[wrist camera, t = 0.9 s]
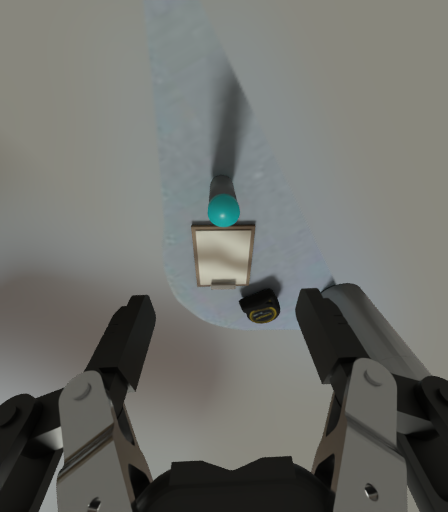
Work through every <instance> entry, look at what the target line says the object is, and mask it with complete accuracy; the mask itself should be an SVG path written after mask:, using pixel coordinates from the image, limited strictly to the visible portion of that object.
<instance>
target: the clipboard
mask: <svg viewBox="0 0 448 512" xmlns="http://www.w3.org/2000/svg"><path fill="white" fill-rule="evenodd" d="M191 229H192V239H193V249H194V258H195V268H196V278H197V287H207V286H211V290H214V289H235V288H236V286H249V279H250V270H251V261H252V252H253V243H254V234H255V225H231V226H228V227H219V226H216V225H192V226H191Z"/></svg>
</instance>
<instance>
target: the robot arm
mask: <svg viewBox="0 0 448 512" xmlns="http://www.w3.org/2000/svg"><path fill="white" fill-rule="evenodd" d="M295 312H296V318H297V321H298V323H299V326H300V328H301V331H302V334H303V336H304V339H305V341H306V344H307V346H308V349H309V351H310V354H311V356H312V359H313V362H314V364H315V367H316V369H317V372H318V375H319V377H320V380H321V382H322V384H331V385H332V387H333V390H334V391H333V394H332V398H331V402H330V407H329V411H328V416H327V420H326V424H325V428H324V432H323V436H322V439H321V441H320V444H319V446H318V448H317V451H316V455H315V458H314V462H313V466H312V471H311V472H309V471H308V470H306V469H305V468H303V467H301V466H299V465H297V464H294V463H293V461H292V457H291V456H284V457H264V458H260V459H258V460H256V461H254V462H251V463H249V464H247V465H245V466H242V467H240V468H238V469H236V470H228V469H224V468H222V467H219V466H216V465H213V464H209V463H206V462H204V461H184V462H172V465H171V469H170V470H168V471H166V472H165V473H163V474H161V475H160V476H158V477H157V478H156V479H155V480H154V481H153V479H152V476H151V473H150V470H149V467H148V464H147V462H146V460H145V457H144V455H143V453H142V452H141V450H140V448H139V445H138V443H137V440H136V437H135V434H134V431H133V428H132V425H131V422H130V419H129V416H128V413H127V410H126V407H125V404H124V400H125V396H126V393H127V392H136V389H137V385H138V381H139V378H140V374H141V371H142V368H143V364H144V361H145V357H146V354H147V351H148V347H149V344H150V340H151V337H152V333H153V330H154V327H155V321H156V315H155V311H154V308H153V306H152V303H151V300H150V297H149V296H148V295H133V296H132V297H131V298H130V300H129V302H128V304H127V306H122V307H121V308H120V309H119V310H118V311H117V312H116V313H115V314H114V315H113V317H112V319H111V321H110V323H109V324H108V327H107V328H106V330H105V332H104V335H103V336H102V338H101V340H100V342H99V344H98V346H97V348H96V350H95V352H94V354H93V356H92V358H91V360H90V362H89V364H88V365H87V367H86V369H85V370H84V372H83V373H81V374H79V375H77V376H76V377H74V378H73V379H72V380H71V381H70V382H69V383H68V384H67V385H66V386H65V387H64V388H62V389H60V390H57V391H54V392H51V393H49V394H46V395H43V396H40V397H38V398H34V397H33V396H31V395H29V394H20V395H16V396H14V397H12V398H10V399H8V400H7V401H5V402H4V403H3V404H1V405H0V512H39V509H40V507H41V504H42V502H43V500H44V497H45V495H46V492H47V490H48V487H49V485H50V483H51V480H52V478H53V475H54V472H55V470H56V468H57V465H58V463H59V460H60V458H61V456H62V453H63V451H64V466H63V468H62V469H61V470H60V471H59V474H58V476H57V483H56V486H57V487H56V488H57V489H56V490H57V504H58V512H407V485H408V488H409V490H410V492H411V494H412V496H413V498H414V500H415V502H416V505H417V507H418V509H419V511H420V512H448V381H447V380H445V379H443V378H440V377H436V376H432V375H431V374H430V372H429V371H428V370H427V369H426V368H425V366H424V365H423V364H422V363H421V361H420V360H419V359H418V358H417V357H416V355H415V354H414V353H413V352H412V351H411V349H410V348H409V347H408V346H407V345H406V343H405V342H404V341H403V340H402V338H401V337H400V336H399V335H398V333H397V332H396V331H395V330H394V329H393V327H392V326H391V325H390V324H389V323H388V321H387V320H386V319H385V318H384V317H383V315H382V314H381V313H380V312H379V310H378V309H377V308H376V307H375V305H374V304H373V303H372V302H371V300H370V299H369V298H368V297H367V296H366V294H365V293H364V292H363V291H362V290H361V289H360V287H359V286H357V285H355V284H350V283H345V284H338V285H335V286H332V287H330V288H328V289H327V290H325V291H324V292H322V293H320V291H319V290H318V289H317V288H306V289H301V290H300V293H299V297H298V301H297V304H296V309H295Z"/></svg>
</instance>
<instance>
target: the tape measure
mask: <svg viewBox="0 0 448 512" xmlns="http://www.w3.org/2000/svg"><path fill="white" fill-rule="evenodd" d="M239 304H240V306H241V309H242V310H243V312H244V313H246V314H247V317H248V318H249V319H250V320H251V321H252V322H255V323H267V322H270V321H272V320H274V319H276V318H277V316H278V315H279V313H280V305H279V302H278V299H277V297H276V296H275V294H274V292H273V291H272V290H271V289H267V290H264V291H261V292H259V293H257V294H254V295H251V296H248V297H245V298H242V299H241V300H239Z"/></svg>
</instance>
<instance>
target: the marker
mask: <svg viewBox="0 0 448 512" xmlns="http://www.w3.org/2000/svg"><path fill="white" fill-rule="evenodd" d="M239 215H240V209H239V205H238V202H237V199H236V195H235V191H234V186H233V183H232V181H231V179H230V178H229V177H227V176H224V175H219V176H216V177H215V178H214V179H213V180H212V181H211V184H210V195H209V205H208V217H209V219H210V221H211V222H212V223H213V224H214V225H216V226H219V227H228V226H231V225H233V224H234V223H235V222H236V221H237V220H238V218H239Z"/></svg>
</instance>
